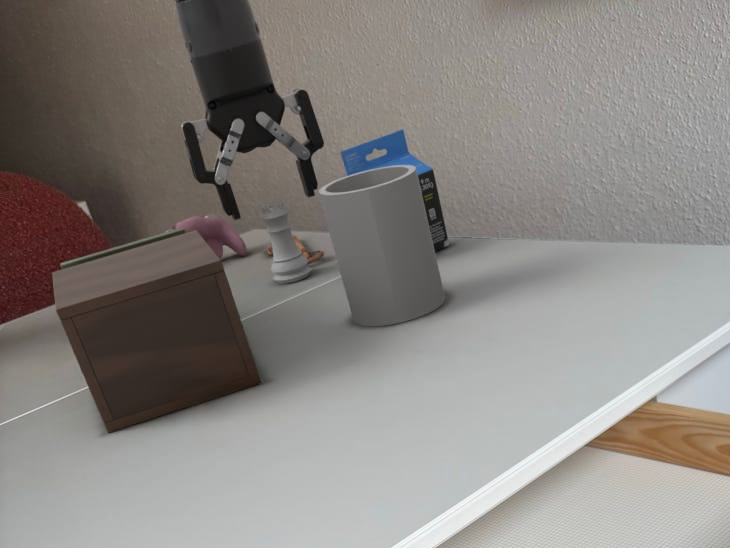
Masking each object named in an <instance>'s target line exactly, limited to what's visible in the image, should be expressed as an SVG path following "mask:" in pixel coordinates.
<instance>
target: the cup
mask: <svg viewBox="0 0 730 548" xmlns="http://www.w3.org/2000/svg"><path fill="white" fill-rule="evenodd" d="M318 196H319V200H320V203H321V208H322V210H323V214H324V218H325V221H326V225H327V230H328V232H329V236H330V239H331V243H332V248H333V251H334V255H335V259H336V261H337V265H338V269H339V273H340V277H341V280H342V284H343V288H344V290H345V295H346V298H347V302H348V305H349V309H350V313H351V317H352V320H353V322H354V323H355V325H358V326H362V327H384V326H390V325H391V326H392V325H395V324H397V325H398V324H401V323H405V322H408V321H412V320H414V319H418V318H420V317H423V316H425V315H428V314H430V313H432V312H433V311H435V310H437V309H438V308H440V307H441V306H442V305H443V304H444V302H445V301H446V294H445V291H444V286H443V282H442V277H441V272H440V269H439V264H438V259H437V255H436V251H435V250H434V246H433V241H432V237H431V232H430V228H429V223H428V219H427V215H426V210H425V206H424V201H423V197H422V192H421V188H420V183H419V179H418V175H417V170H416V167H415V166H413V165H395V166H387V167H381V168H376V169H371V170H367V171H363V172H359V173H356V174H352V175H349V176H347V175H346V176H343V177H340V178H338V179H335V180H332V181H331V182H328V183H326V184H325V185H323V186H322V187H320V188H319V189H318Z"/></svg>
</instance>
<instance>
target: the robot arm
mask: <svg viewBox="0 0 730 548" xmlns="http://www.w3.org/2000/svg"><path fill="white" fill-rule="evenodd" d="M173 2H174V6H175V10H176V14H177V19H178V24H179V29H180V32H181V36H182V39H183V41H184V46H185V49H186V51H187V54H188V57H189V61H190V63H191V67H192V70H193V72H194V76H195V79H196V82H197V85H198V88H199V91H200V95H201V97H202V100H203V103H204V107H205V117H204V118H201V119H197V120H196V119H195V120H191V121H189V120H183V121H182V122H180V125H179V128H180V132H181V135H182V139H183V142H184V146H185V150H186V153H187V157H188V160H189V164H190V168H191V171H192V175H193V178H194V179H195V180H196V182H198V183H199V184H202V185H203V184H210V185H213V186H215V188H216V191H217V194H218V198H219V200H220V204H221V207H222V210H223V211H224V213H225V214H226V215H227V216H228V217H230V216H231V218H232V219H233V220H234V221H238V220H240V219H242V216H241V213H240V209H239V207H238V204H237V199H236V197H235V194H234V192H233V188H232V185H231V183H230V182H229V181H228V180H227V179H228V176H229V174H230V169H231V167H232V164H233V162H234V159H235V156H236V154H237V153H240V154H247V153H251V152H252V151H254V150H255V149H257V148H268V147H271V146H272V145H273V143H275V141H277V142H278V143H279V144H281V145H282V146H283V147H285V149H287V150H288V151H289V152H291V153H292V155H294V156H295V157H296V160H295V164H296V167H297V171H298V175H299V177H300V181H301V185H302V188H303V192H304V194H305V197H307V198H312V197H315V195H316V193H315V190H318V188H319V184H318V180H317V177H316V176H317V175H316V172H315V169H314V165H313V161H312V157H313V155H314V154H315V153H316V152H317V151H319V150H321V149H323V147H324V146H325V141H324V138H323V135H322V132H321V129H320V126H319V123H318V120H317V117H316V114H315V111H314V107H313V105H312V102H311V98H310V96H309V93H308V92H307V90H305V89H301V88H295V89H294V90H292V92H290V93H288V94H285V95H283V96H281V95H280V94H279V93H278V92H277V89H276V87H275V83H274V81H273V77H272V73H271V70H270V66H269V63H268V59H267V55H266V53H265V49H264V45H263V42H262V38H261V35H260V28H259V24H258V23H257V21H256V18H255V14H254V11H253V8H252V6H251V2H250V1H249V0H173ZM286 107H288V108H289V109H290V111H291V113H293V114H295V115H298V116H299V119H300V121H301V124H302V127H303V130H304V134H305V136H306V140H305V141H304V142H303V143H301V142H299V140H297V139H296V138H295V137H294V135H292V134H290V133H289V131H287V130H286V129H285V128H283V127H282V126H281V123H282V120H283V117H284V113H285V110H286ZM206 130H208V131H210V132H211V133H212V134H213V135H215V136H216V137H217V138H218V139H219V140H220V144H219V147H218V150H217V152H216V153H217V154H216V159H215V163H214V165H213V169H207V168H206V164H205V161H204V157H203V154H202V150H201V146H200V144H201V143H203V142H204V141H205V132H206Z"/></svg>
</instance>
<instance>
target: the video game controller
mask: <svg viewBox="0 0 730 548" xmlns="http://www.w3.org/2000/svg"><path fill="white" fill-rule="evenodd" d="M179 228H184V230H185V232H186V233H188V232H191V231H195V230H197V231H198V233H199V234H200V235H201V236H202V238H203V239H204V240H205V241H206V242H207V244H208V245H209V246H210V247H211V249H212V250H213V251H214V252H215V254H216V255H217V256H218V257H219V259H220V260H221V258H222V257H223V254H224V246H225V247H228V248H229V249H230V250H232V251H233V252H234V253H236V254H237V255H239V256H243V257H245V256H246V255H247V254H248V253H247V252H248V251H247V250H248V249H247V246H246V242H245V241H244V239H243V237H241V236H240V234H239V233H238V232H237V231H236V230H235V229H234V228H233V227H232V225H230V224H229V223H228V222H227V221H226V220H225V219H224V218H222V217H219V216H217V215H216V214H215V213H210V214H208V215H202V216H199V215H195V216H191V217H188V218H186V219H184V220H181V221H178V222H177V223H176V224H174V225H173V226H172V227H170V228H168V229H166V231H165V232H164V233H166V232H169V231H172V230H176V229H179Z"/></svg>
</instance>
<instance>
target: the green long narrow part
mask: <svg viewBox="0 0 730 548" xmlns="http://www.w3.org/2000/svg"><path fill="white" fill-rule="evenodd" d="M165 232H166V231H165ZM165 232H163V233H158V234H156V235H152V236H148V237H146V238H141V239H139V240H135V241H132V242H129V243H126V244H122V245H118V246H114V247H111V248H108V249H103V250H101V251H98V252H97V251H96V252H93V253H90V254H87V255H84V256H81V257H77V258H74V259H71V260H67V261H63V262H60V268H61V270H62V269H66V268H69V267H72V266H76V265H79V264H83V263H86V262H89V261H93V260H96V259H100V258H103V257H106V256H110V255H113V254H117V253H120V252H123V251H127V250H130V249H134V248H137V247H140V246H144V245H147V244H150V243H154V242H157V241H161V240H164V239H167V238H171V237H174V236H178V235H181V234H184V233H186V232H185V230H184V228H179V229H176V230H172V231H169V232H166V233H165Z"/></svg>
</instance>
